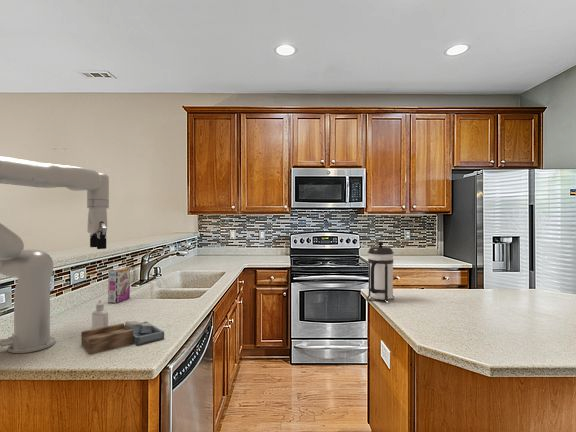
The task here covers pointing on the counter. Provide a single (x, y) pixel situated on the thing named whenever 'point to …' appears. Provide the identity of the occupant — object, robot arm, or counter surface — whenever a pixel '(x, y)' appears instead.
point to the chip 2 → (146, 328)
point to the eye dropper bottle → (99, 316)
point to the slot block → (106, 338)
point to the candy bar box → (119, 284)
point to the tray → (147, 336)
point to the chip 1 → (133, 326)
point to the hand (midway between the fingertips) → (98, 248)
